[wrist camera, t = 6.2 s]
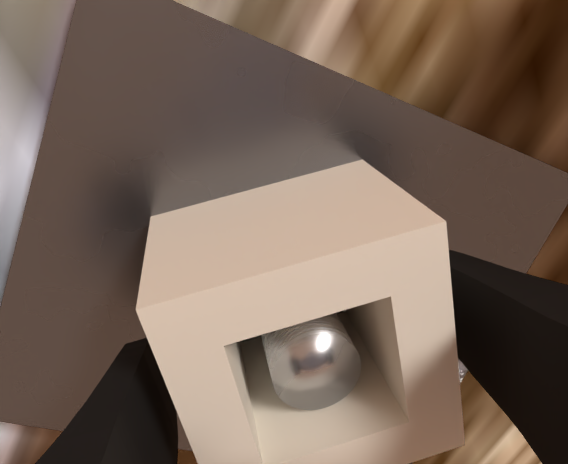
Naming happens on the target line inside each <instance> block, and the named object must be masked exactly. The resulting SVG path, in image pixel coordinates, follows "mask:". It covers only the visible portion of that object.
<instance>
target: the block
mask: <svg viewBox="0 0 568 464" xmlns="http://www.w3.org/2000/svg"><path fill="white" fill-rule="evenodd" d="M343 310H345V312H342V313H338V316H339V318H340V320H341V322H342V324H343V326H344V327H345V329H346V331H347V333H348V335H349V337H350V339H351V340H352V342H353V344H354V346H355V348H356V350H357V351H358V353H359V356H360V359H361V373H360V377H359V379H358V382H357V383H356V385H355V387H354V388H353V389H352V391H351V392H350V393H349V394H348V395H347V396H346V397H344V398H343V399H342V400H340V401H339V402H337V403H335V404H333V405H331V406H329V407H326V408H322V409H317V410H302V409H297V408H294V407H291V406H289V405H287V404H286V403H284V402H283V401H282V400H281V399H280V398H279V397H278V395H277V394H276V392H275V390H274V387H273V383H272V379H271V375H270V371H269V367H268V363H267V359H266V355H265V351H264V348H263V344H262V340H261V337H258V338H254V339H251V340H248V341H244V342H241V343H240V341H242V340H246V339H249V338H252V337H256V336H259V335H262V334H266V333H269V332H272V331H276V330H279V329H283V328H286V327H289V326H293V325H296V324H299V323H303V322H306V321H310V320H313V319H316V318H320V317H323V316H326V315H330V314H333V313H336V312H340V311H343ZM136 312H137V315H138V317H139V320H140V322H141V325H142V327H143V330H144V332H145V334H146V337H147V339H148V342H149V344H150V347H151V349H152V352H153V354H154V357H155V359H156V362H157V364H158V367H159V369H160V371H161V374H162V376H163V379H164V381H165V384H166V386H167V389H168V391H169V394H170V396H171V399H172V401H173V404H174V406H175V408H176V411H177V413H178V416H179V418H180V421H181V423H182V426H183V428H184V431H185V433H186V436H187V438H188V441H189V443H190V445H191V448H192V450H193V453H194V455H195V458H196V460H197V463H198V464H409V463H412V462H415V461H418V460H421V459H424V458H427V457H430V456H433V455H436V454H439V453H442V452H445V451H448V450H451V449H454V448H458V447H461V446H464V445H465V438H464V426H463V414H462V402H461V391H460V379H459V367H458V355H457V343H456V331H455V319H454V308H453V296H452V284H451V272H450V260H449V248H448V237H447V225H446V221H445V220H444V219H443V218H441V217H440V216H438V215H437V214H436V213H434V212H433V211H432V210H430V209H429V208H428V207H426V206H425V205H424V204H422V203H421V202H419V201H418V200H417V199H415V198H414V197H413V196H411V195H410V194H409V193H407V192H406V191H405V190H403V189H402V188H400V187H399V186H398V185H396V184H395V183H394V182H392V181H391V180H390V179H388V178H387V177H386V176H384V175H383V174H381V173H380V172H379V171H377V170H376V169H375V168H373V167H372V166H371V165H369V164H368V163H367V162H365V161H364V160H358V161H355V162H351V163H347V164H344V165H340V166H336V167H332V168H329V169H325V170H321V171H318V172H314V173H310V174H306V175H303V176H299V177H295V178H292V179H288V180H284V181H281V182H277V183H273V184H269V185H266V186H262V187H258V188H255V189H251V190H247V191H243V192H240V193H236V194H232V195H229V196H225V197H221V198H218V199H214V200H210V201H206V202H203V203H199V204H195V205H192V206H188V207H184V208H180V209H177V210H173V211H169V212H166V213H162V214H158V215H155V216H151V217H150V224H149V230H148V236H147V242H146V248H145V255H144V261H143V267H142V273H141V279H140V286H139V292H138V298H137V304H136Z"/></svg>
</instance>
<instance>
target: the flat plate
mask: <svg viewBox="0 0 568 464" xmlns="http://www.w3.org/2000/svg"><path fill="white" fill-rule="evenodd" d="M358 160H364V161H365V162H367V163H368V164H369V165H371V166H372V167H373V168H375V169H376V170H377V171H379V172H380V173H381V174H383V175H384V176H386V177H387V178H388V179H390V180H391V181H392V182H394V183H395V184H396V185H398V186H399V187H400V188H402V189H403V190H405V191H406V192H407V193H409V194H410V195H411V196H413V197H414V198H415V199H417V200H418V201H419V202H421V203H422V204H424V205H425V206H426V207H428V208H429V209H430V210H432V211H433V212H434V213H436V214H437V215H438V216H440V217H441V218H443V219H444V220H445V221H446V225H447V237H448V248H449V250H453V251H457V252H460V253H464V254H467V255H470V256H473V257H476V258H479V259H482V260H485V261H488V262H491V263H494V264H497V265H500V266H503V267H506V268H510V269H513V270H516V271H519V272H522V273H527V271H528V270H529V268H530V266H531V265H532V263H533V261H534V260H535V258H536V256H537V254H538V253H539V251H540V249H541V248H542V246H543V244H544V243H545V241H546V239H547V238H548V236H549V234H550V233H551V231H552V229H553V228H554V226H555V224H556V223H557V221H558V219H559V218H560V216H561V214H562V213H563V211H564V209H565V208H566V206H567V204H568V173H567V172H564V171H562V170H560V169H558V168H555V167H553V166H551V165H548V164H546V163H544V162H541V161H539V160H537V159H535V158H532V157H530V156H528V155H525V154H523V153H521V152H519V151H516V150H514V149H512V148H509V147H507V146H505V145H502V144H500V143H498V142H496V141H493V140H491V139H489V138H486V137H484V136H482V135H480V134H477V133H475V132H473V131H470V130H468V129H466V128H464V127H461V126H459V125H457V124H454V123H452V122H450V121H447V120H445V119H443V118H441V117H438V116H436V115H434V114H431V113H429V112H427V111H425V110H422V109H420V108H418V107H415V106H413V105H411V104H408V103H406V102H404V101H402V100H399V99H397V98H395V97H392V96H390V95H388V94H386V93H383V92H381V91H379V90H376V89H374V88H372V87H370V86H367V85H365V84H363V83H360V82H358V81H356V80H353V79H351V78H349V77H347V76H344V75H342V74H340V73H337V72H335V71H333V70H331V69H328V68H326V67H324V66H321V65H319V64H317V63H314V62H312V61H310V60H308V59H305V58H303V57H301V56H298V55H296V54H294V53H292V52H289V51H287V50H285V49H282V48H280V47H278V46H276V45H273V44H271V43H269V42H266V41H264V40H262V39H259V38H257V37H255V36H253V35H250V34H248V33H246V32H243V31H241V30H239V29H237V28H234V27H232V26H230V25H227V24H225V23H223V22H220V21H218V20H216V19H214V18H211V17H209V16H207V15H204V14H202V13H200V12H198V11H195V10H193V9H191V8H188V7H186V6H184V5H182V4H179V3H177V2H175V1H172V0H76V4H75V8H74V12H73V16H72V20H71V24H70V29H69V33H68V37H67V41H66V45H65V49H64V53H63V57H62V61H61V65H60V69H59V73H58V77H57V81H56V85H55V89H54V93H53V97H52V101H51V105H50V109H49V113H48V117H47V121H46V125H45V129H44V134H43V138H42V142H41V146H40V150H39V154H38V158H37V162H36V166H35V170H34V174H33V178H32V182H31V186H30V190H29V194H28V198H27V202H26V206H25V210H24V214H23V218H22V222H21V226H20V230H19V235H18V239H17V243H16V247H15V251H14V255H13V259H12V263H11V267H10V271H9V275H8V279H7V283H6V287H5V291H4V295H3V299H2V303H1V307H0V421H1V422H7V423H13V424H20V425H26V426H33V427H39V428H46V429H52V430H59V431H64V429H65V428H66V427H67V425H68V424H69V423H70V421H71V420H72V419H73V418H74V416H75V415H76V414H77V412H78V411H79V410H80V408H81V407H82V406H83V405H84V403H85V402H86V400H87V399H88V398H89V396H90V395H91V393H92V392H93V390H94V389H95V388H96V386H97V385H98V383H99V382H100V380H101V379H102V377H103V376H104V374H105V373H106V371H107V370H108V369H109V367H110V365H111V364H112V362H113V361H114V359H115V358H116V356H117V355H118V354H119V352H120V351H121V349H122V348H123V346H124V345H125V344H127V343H130V342H133V341H137V340H140V339H144V338H147V337H146V334H145V332H144V330H143V327H142V325H141V322H140V320H139V317H138V315H137V312H136V304H137V298H138V292H139V286H140V279H141V273H142V267H143V261H144V255H145V248H146V242H147V236H148V230H149V224H150V217H151V216H155V215H158V214H162V213H166V212H169V211H173V210H177V209H180V208H184V207H188V206H192V205H195V204H199V203H203V202H206V201H210V200H214V199H218V198H221V197H225V196H229V195H232V194H236V193H240V192H243V191H247V190H251V189H255V188H258V187H262V186H266V185H269V184H273V183H277V182H281V181H284V180H288V179H292V178H295V177H299V176H303V175H306V174H310V173H314V172H318V171H321V170H325V169H329V168H332V167H336V166H340V165H344V164H347V163H351V162H355V161H358ZM342 312H345V310H343V311H340V312H336V313H333V314H330V315H326V316H323V317H320V318H316V319H313V320H310V321H306V322H303V323H299V324H296V325H293V326H289V327H286V328H283V329H279V330H276V331H272V332H269V333H266V334H262V335H259V336H256V337H252V338H249V339H246V340H242V341H240V343H241V342H244V341H248V340H251V339H254V338H258V337H261V340H262V344H263V348H264V351H265V355H266V359H267V363H268V367H269V371H270V375H271V379H272V383H273V387H274V390H275V392H276V394H277V395H278V397H279V398H280V399H281V400H282V401H283V402H284V403H286V404H287V405H289V406H291V407H294V408H297V409H302V410H317V409H322V408H326V407H329V406H331V405H333V404H335V403H337V402H339V401H340V400H342V399H343V398H344V397H346V396H347V395H348V394H349V393H350V392H351V391H352V389H353V388H354V387H355V385H356V383H357V382H358V379H359V377H360V373H361V359H360V356H359V353H358V351H357V350H356V348H355V346H354V344H353V342H352V340H351V339H350V337H349V335H348V333H347V331H346V329H345V327H344V326H343V324H342V322H341V320H340V318H339V316H338V313H342ZM458 367H459V379H460V383H461V381H462V380H463V378H464V376H465V375H466V373H467V371H468V369H467V368H466V367H465V366H464V365H463V363H462V362H461V361H460V360H459V359H458ZM176 412H177V411H176ZM177 424H178V449H182V450H189V451H193V450H192V448H191V445H190V443H189V441H188V438H187V436H186V433H185V431H184V428H183V426H182V423H181V421H180V418H179V416H178V413H177ZM412 463H413V462H412ZM412 463H409V464H412Z"/></svg>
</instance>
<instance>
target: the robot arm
mask: <svg viewBox="0 0 568 464" xmlns="http://www.w3.org/2000/svg"><path fill="white" fill-rule="evenodd" d="M449 260H450V272H451V284H452V296H453V308H454V319H455V331H456V343H457V355H458V359H459V360H460V361H461V362H462V363H463V365H464V366H465V367H466V368H467V369H468V371H469V372H470V373H471V374H472V375H473V376H474V378H475V379H476V380H477V381H478V382H479V383H480V385H481V386H482V387H483V388H484V389H485V390H486V391H487V393H488V394H489V395H490V396H491V397H492V398H493V400H494V401H495V402H496V403H497V404H498V405H499V407H500V408H501V409H502V410H503V411H504V412H505V414H506V415H507V416H508V417H509V418H510V420H511V421H512V422H513V423H514V425H515V426H516V427H517V428H518V430H519V431H520V432H521V434H522V435H523V436H524V438H525V439H526V441H527V442H528V444H529V445H530V446H531V448H532V449H533V451H534V452H535V454H536V455H537V456H538V458H539V459H540V461H541V462H542V464H568V285H565V284H562V283H558V282H554V281H550V280H547V279H543V278H539V277H536V276H532V275H529V274H526V273H522V272H519V271H516V270H513V269H510V268H506V267H503V266H500V265H497V264H494V263H491V262H488V261H485V260H482V259H479V258H476V257H473V256H470V255H467V254H464V253H460V252H457V251H453V250H449ZM177 457H178V424H177V412H176V408H175V406H174V404H173V401H172V399H171V396H170V394H169V391H168V389H167V386H166V384H165V381H164V379H163V376H162V374H161V371H160V369H159V367H158V364H157V362H156V359H155V357H154V354H153V352H152V349H151V347H150V344H149V342H148V339H147V338H144V339H140V340H137V341H133V342H130V343H127V344H125V345H124V346H123V348H122V349H121V351H120V352H119V354H118V355H117V356H116V358H115V359H114V361H113V362H112V364H111V365H110V367H109V369H108V370H107V371H106V373H105V374H104V376H103V377H102V379H101V380H100V382H99V383H98V385H97V386H96V388H95V389H94V390H93V392H92V393H91V395H90V396H89V398H88V399H87V400H86V402H85V403H84V405H83V406H82V407H81V408H80V410H79V411H78V412H77V414H76V415H75V416H74V418H73V419H72V420H71V421H70V423H69V424H68V425H67V427H66V428H65V429H64V431H63V432H62V433H61V434H60V436H59V437H58V438H57V439H56V441H55V442H54V443H53V444H52V445H51V446H50V448H49V449H48V450H47V451H46V452H45V453H44V454H43V455H42V457H41V458H40V459H39V460H38V461H37V462H36V463H35V464H177Z"/></svg>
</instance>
